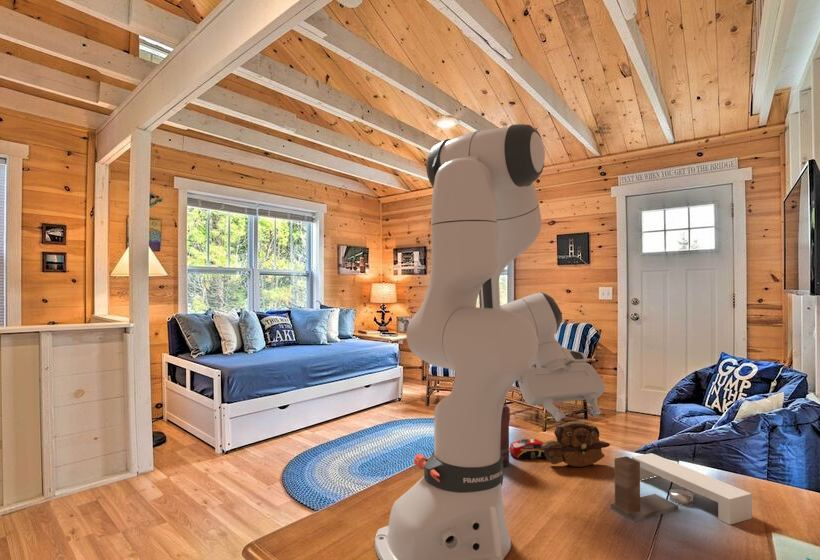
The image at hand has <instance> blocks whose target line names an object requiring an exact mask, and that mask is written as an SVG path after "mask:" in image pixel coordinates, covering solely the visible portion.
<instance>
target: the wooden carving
mask: <svg viewBox="0 0 820 560" xmlns="http://www.w3.org/2000/svg"><path fill="white" fill-rule="evenodd" d="M598 428H599V427H597V426H595V425H593V424H586V423H583V422H580V421H568V422H565V423H564V424H562V425H559V424H557V425H556V426H555V428H554V432H553V433H554V436H555V437H556V440H550V441H546V442H544V443H545V444H543V445H542V447H541V448H542V450H544V453H545V455H546V458H545V459H546V461H547V463H549V464H552V465H558V464H560V463H563V464H564V463H565V464H567V465H568V466H572V467H576V468H577V467H581V468H582V467H587V466H590V465H591V466H592V465H593V464H596V463H597V462H599V461H600V460H602V459H603V458H604V457H605V456H606V455H605V454H604V453H603V451H602V449H603V448H604V449H605V448H608V447H610V446H611V443H609V442H606V441H605V440H604V441H603V440H600V430H599V429H598Z"/></svg>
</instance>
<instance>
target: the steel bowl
mask: <svg viewBox="0 0 820 560" xmlns="http://www.w3.org/2000/svg"><path fill="white" fill-rule="evenodd" d="M668 492H669V501H670V502H672V503H674V502H675V503H674V504H677V503H678V504H677V505H680V504H682V505H681V506H687V505H689V506H693V505H694V495H693V493H691V492H690V491H687V490H685V489H680V488H672V489H671V488H670V489H669V491H668Z"/></svg>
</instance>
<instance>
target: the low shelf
mask: <svg viewBox="0 0 820 560" xmlns="http://www.w3.org/2000/svg"><path fill="white" fill-rule="evenodd" d="M631 459H634V460H636V461H638V462H640V480H641V481H643V480H642V479H646V478H650V477H654V476H660V477H661V478H662V479H665V480H667V481H670V482H672V483H674V484H676V485H678V486H680V487H683V488H685V489H687V490H690V491H692V492H694V493H696V494H699V495H700V496H703V497H705V498H708V499H709V500H711V501H714V502H716V503H717V507H718V510H717V511H718V517H717V518H718V520H719V521H721V522H722V523H723V522H724V523H726V524H728V525H735V524H738V523H741V522H744V521H748V520H752V519H753V514H752V513H753V509H752V508H753V505H752V502H753V501H752V499H753V498H752V493H751V492H748V491H747V490H743V489H741V488H739V487H736V486H734V485H731V484H729V483H726V482H724V481H721V480H719V479H717V478H714V477H712V476H709V475H707V474H704V473H701V472H699V471H697V470H694V469H692V468H689V467H687V466H684V465H682V464H679V463H677V462H674V461H673V460H672V461H671V460H669V459H667V458H664V457H662V456H660V455H657V454H654V453H652V452H650V453H645V454H640V455H635V456H631ZM646 480H647V479H646Z"/></svg>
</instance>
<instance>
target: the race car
mask: <svg viewBox="0 0 820 560" xmlns="http://www.w3.org/2000/svg"><path fill="white" fill-rule="evenodd" d="M545 443H546V442H543V441H541V440H539V439H536V438H526V439H525V438H524V439H523V438H522V439H520V440H517V441H513V442H511V443H510V444H509V455H511V456H512V457H513V458H517V459H522V460H529V459H531V460H532V459H547V458H546V455H545V453H544V450H542V448H541V447H542V445H543V444H545Z"/></svg>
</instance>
